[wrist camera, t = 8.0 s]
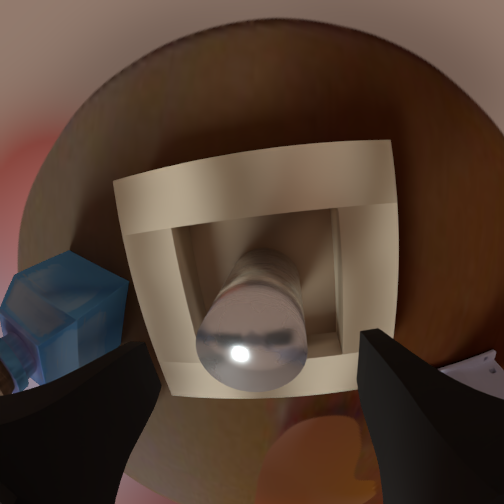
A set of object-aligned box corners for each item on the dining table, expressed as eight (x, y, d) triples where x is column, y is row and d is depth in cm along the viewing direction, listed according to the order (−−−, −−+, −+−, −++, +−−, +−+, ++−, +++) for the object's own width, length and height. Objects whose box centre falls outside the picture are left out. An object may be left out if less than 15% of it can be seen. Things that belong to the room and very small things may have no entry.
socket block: (369, 147, 14) (390, 139, 11) (373, 353, 18) (386, 383, 14) (143, 179, 16) (112, 181, 13) (187, 365, 20) (172, 395, 16)
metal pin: (297, 245, 15) (306, 297, 8) (301, 310, 16) (308, 390, 9) (226, 251, 16) (185, 304, 9) (235, 313, 17) (207, 391, 10)
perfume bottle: (120, 344, 20) (35, 441, 9) (66, 312, 20) (-24, 382, 9) (129, 281, 18) (7, 377, 7) (69, 250, 18) (-50, 308, 7)
